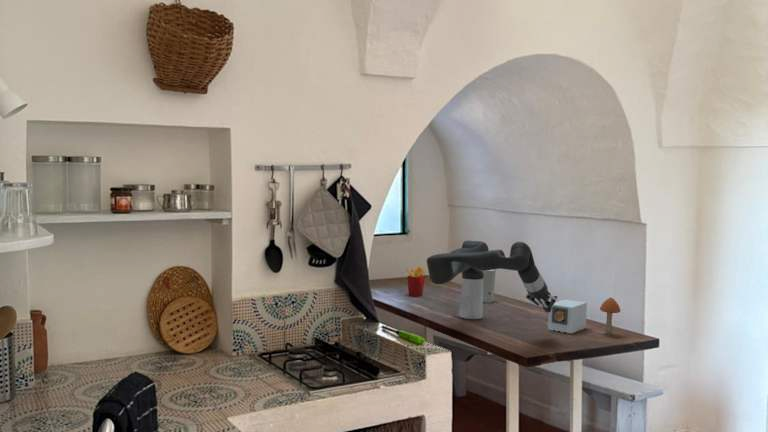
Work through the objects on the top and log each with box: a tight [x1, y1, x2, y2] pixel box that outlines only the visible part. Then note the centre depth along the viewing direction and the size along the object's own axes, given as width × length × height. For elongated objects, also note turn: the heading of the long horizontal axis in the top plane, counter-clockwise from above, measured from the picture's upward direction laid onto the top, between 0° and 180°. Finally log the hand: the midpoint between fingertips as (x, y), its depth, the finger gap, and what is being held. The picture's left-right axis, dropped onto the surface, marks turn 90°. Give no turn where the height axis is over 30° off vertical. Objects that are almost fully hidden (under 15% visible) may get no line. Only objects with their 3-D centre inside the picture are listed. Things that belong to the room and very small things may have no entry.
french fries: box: [406, 265, 427, 298], centre depth 377 cm, size 9×8×15 cm
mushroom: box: [599, 297, 621, 336], centre depth 302 cm, size 8×8×15 cm
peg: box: [555, 310, 565, 321], centre depth 310 cm, size 12×4×4 cm, turn 141°
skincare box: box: [481, 269, 497, 304], centre depth 366 cm, size 8×7×16 cm
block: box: [547, 299, 588, 334], centre depth 311 cm, size 15×10×10 cm
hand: (548, 310), depth 296 cm, fingers closed
